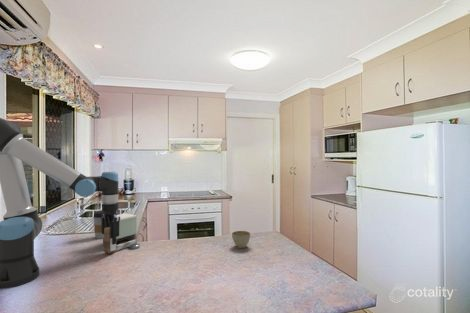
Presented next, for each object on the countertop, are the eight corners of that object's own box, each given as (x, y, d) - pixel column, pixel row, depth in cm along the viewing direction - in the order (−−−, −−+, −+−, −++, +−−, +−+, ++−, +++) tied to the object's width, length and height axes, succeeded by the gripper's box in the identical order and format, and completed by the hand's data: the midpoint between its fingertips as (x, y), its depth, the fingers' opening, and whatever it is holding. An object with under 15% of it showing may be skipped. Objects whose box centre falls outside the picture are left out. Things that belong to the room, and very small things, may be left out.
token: (133, 250, 136) (133, 247, 136) (127, 248, 139) (127, 245, 139) (141, 247, 140) (141, 244, 140) (135, 245, 143) (135, 243, 143)
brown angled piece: (108, 253, 129) (108, 229, 128) (104, 252, 131) (104, 228, 131) (138, 243, 143) (138, 221, 143) (133, 242, 145) (133, 220, 145)
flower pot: (250, 243, 145) (250, 230, 145) (250, 250, 135) (250, 236, 135) (232, 243, 146) (232, 230, 146) (230, 249, 136) (230, 235, 136)
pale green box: (113, 248, 138) (113, 220, 137) (102, 245, 143) (102, 217, 143) (136, 241, 149) (136, 215, 149) (125, 238, 155) (125, 213, 155)
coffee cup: (104, 239, 153) (104, 213, 153) (90, 239, 153) (90, 213, 153) (111, 235, 161) (111, 210, 161) (98, 235, 161) (98, 210, 161)
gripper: (127, 203, 130) (127, 250, 130) (107, 200, 139) (107, 244, 139) (112, 205, 123) (113, 255, 123) (93, 202, 133) (93, 248, 133)
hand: (110, 249), depth 131 cm, fingers closed on brown angled piece, 4 cm apart
